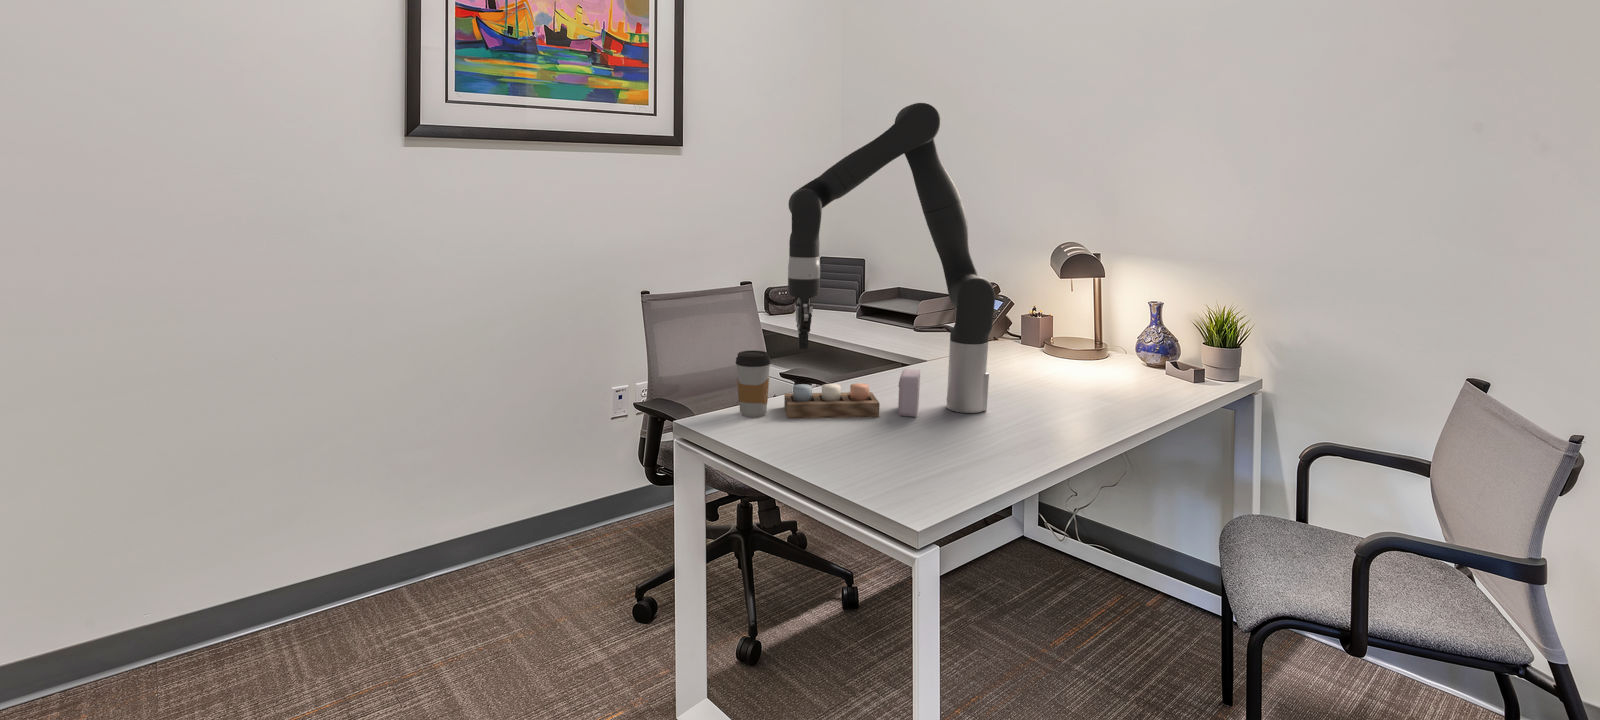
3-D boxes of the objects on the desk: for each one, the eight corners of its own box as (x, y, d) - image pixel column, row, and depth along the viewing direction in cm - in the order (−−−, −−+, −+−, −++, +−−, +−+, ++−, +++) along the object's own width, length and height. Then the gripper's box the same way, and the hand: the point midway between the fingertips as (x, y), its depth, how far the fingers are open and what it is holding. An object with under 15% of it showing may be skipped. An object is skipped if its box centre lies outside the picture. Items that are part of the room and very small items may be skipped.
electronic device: (900, 405, 198) (901, 367, 196) (918, 407, 197) (920, 368, 195) (896, 417, 189) (898, 376, 187) (916, 418, 188) (918, 377, 186)
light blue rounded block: (810, 396, 193) (811, 384, 193) (812, 401, 189) (813, 388, 188) (792, 396, 193) (792, 384, 192) (793, 402, 188) (794, 389, 188)
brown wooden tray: (871, 405, 198) (871, 392, 197) (879, 417, 188) (879, 402, 188) (784, 406, 196) (784, 393, 195) (787, 418, 186) (787, 404, 186)
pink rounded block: (867, 395, 195) (867, 383, 194) (870, 400, 190) (870, 388, 190) (848, 396, 194) (848, 383, 194) (851, 401, 190) (851, 388, 189)
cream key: (839, 396, 194) (839, 383, 193) (841, 401, 190) (842, 388, 189) (820, 396, 194) (820, 383, 193) (822, 401, 189) (823, 388, 188)
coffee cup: (765, 420, 185) (765, 358, 181) (731, 418, 186) (731, 356, 183) (774, 410, 193) (774, 351, 189) (741, 408, 194) (740, 349, 191)
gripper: (823, 279, 178) (822, 354, 182) (816, 272, 191) (815, 342, 195) (790, 279, 177) (789, 354, 181) (785, 272, 190) (785, 342, 194)
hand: (803, 348), depth 188 cm, fingers closed
